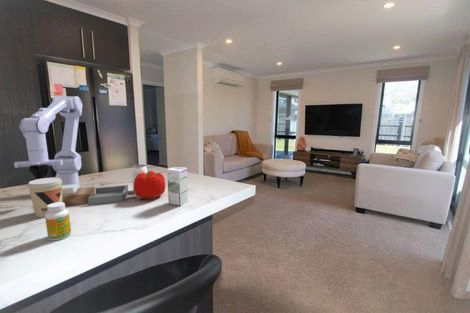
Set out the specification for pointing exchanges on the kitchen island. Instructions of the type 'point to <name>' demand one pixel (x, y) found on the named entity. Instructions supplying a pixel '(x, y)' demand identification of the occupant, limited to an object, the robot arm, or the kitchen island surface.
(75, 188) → the white block
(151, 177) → the tomato
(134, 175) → the can
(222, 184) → the kitchen island surface
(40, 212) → the coffee cup
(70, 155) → the robot arm
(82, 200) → the brown shallow box
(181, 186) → the syrup box
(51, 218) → the supplement bottle
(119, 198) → the tray
